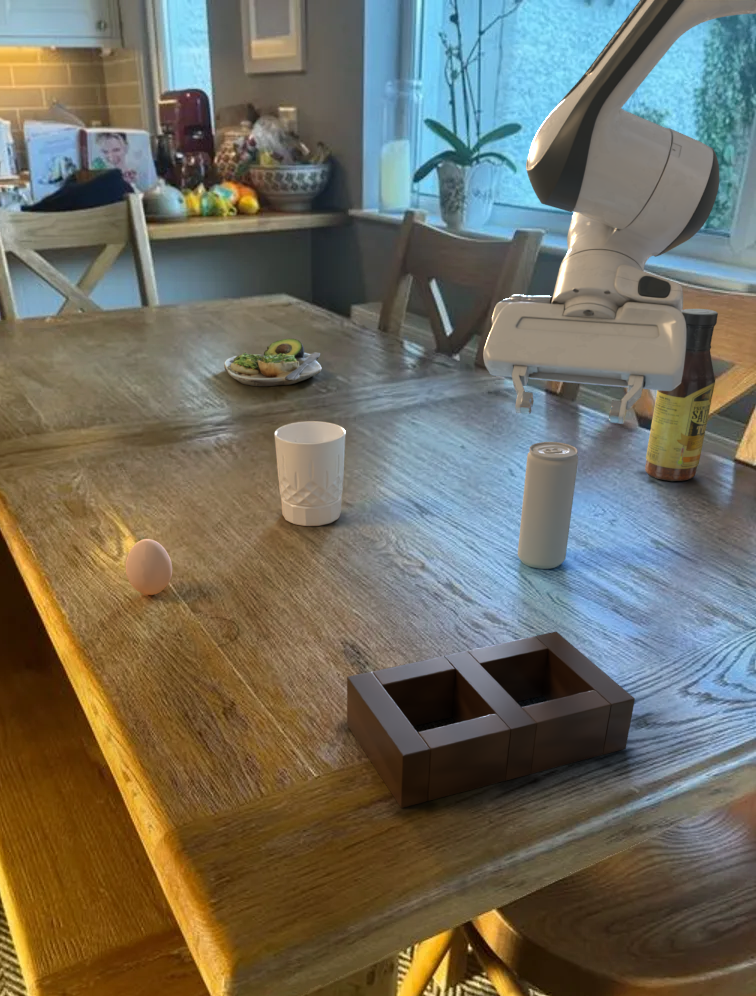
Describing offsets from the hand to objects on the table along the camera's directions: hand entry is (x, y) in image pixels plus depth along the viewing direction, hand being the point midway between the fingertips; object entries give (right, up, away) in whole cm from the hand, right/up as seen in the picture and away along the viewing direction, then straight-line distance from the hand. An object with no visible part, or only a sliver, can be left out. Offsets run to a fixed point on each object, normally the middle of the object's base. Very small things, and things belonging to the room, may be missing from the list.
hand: (568, 415), depth 93 cm
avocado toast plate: (-33, +21, +68) cm, 78 cm away
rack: (-14, -29, -25) cm, 41 cm away
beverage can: (-3, -15, 0) cm, 15 cm away
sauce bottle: (+19, -3, +21) cm, 28 cm away
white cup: (-26, -9, +12) cm, 30 cm away
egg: (-42, -18, -4) cm, 46 cm away
